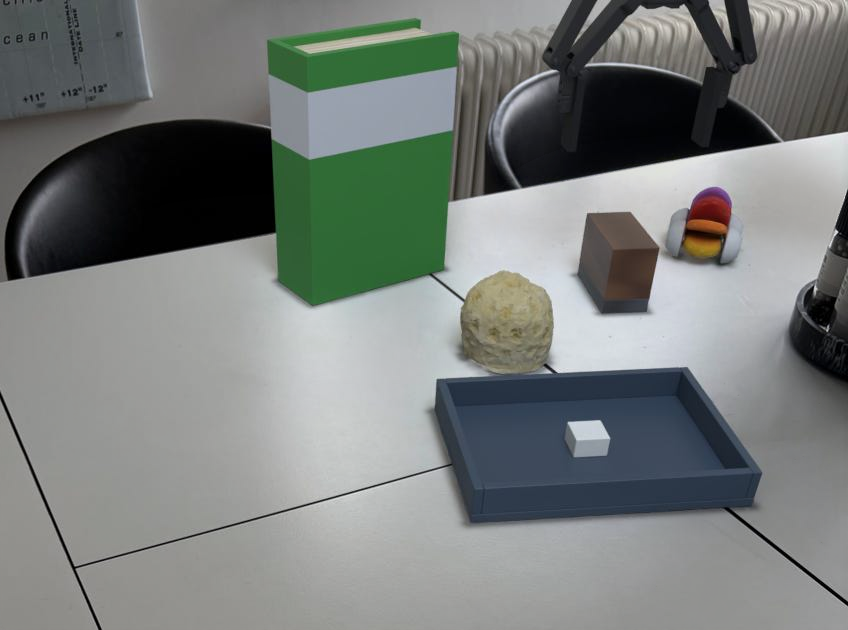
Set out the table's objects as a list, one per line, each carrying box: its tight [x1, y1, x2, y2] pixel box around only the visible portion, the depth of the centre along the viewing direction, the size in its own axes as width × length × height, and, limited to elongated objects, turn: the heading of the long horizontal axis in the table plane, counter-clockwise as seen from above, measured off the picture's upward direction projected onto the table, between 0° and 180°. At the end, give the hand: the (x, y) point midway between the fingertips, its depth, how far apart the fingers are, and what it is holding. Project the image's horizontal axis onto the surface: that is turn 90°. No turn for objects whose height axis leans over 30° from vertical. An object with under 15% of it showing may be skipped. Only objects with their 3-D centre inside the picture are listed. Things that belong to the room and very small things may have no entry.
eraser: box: [576, 211, 661, 314], centre depth 113 cm, size 5×10×7 cm, turn 7°
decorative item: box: [459, 269, 555, 375], centre depth 102 cm, size 10×10×10 cm
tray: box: [434, 366, 763, 524], centre depth 90 cm, size 24×18×3 cm
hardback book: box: [266, 17, 460, 307], centre depth 110 cm, size 18×7×24 cm, turn 124°
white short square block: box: [565, 420, 610, 458], centre depth 90 cm, size 3×3×2 cm
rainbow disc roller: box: [664, 186, 744, 264], centre depth 122 cm, size 8×10×7 cm
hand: (634, 145), depth 103 cm, fingers open, 13 cm apart
